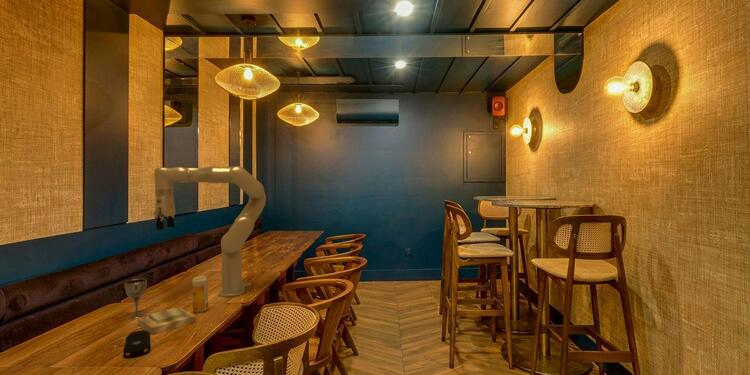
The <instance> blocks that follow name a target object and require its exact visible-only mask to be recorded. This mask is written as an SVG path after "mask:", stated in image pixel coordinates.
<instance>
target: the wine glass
mask: <svg viewBox="0 0 750 375" xmlns="http://www.w3.org/2000/svg"><path fill="white" fill-rule="evenodd" d="M147 284H148V282H147V278H133V279H129V280H127V281H125V282H124V289H125V293H126V295H127V297H128V298H130V299H131V300H132V301H133V303H134V306H135V307H134V308H135V312H133V313H131V314H129V315H127V316H126V318H127V319H137V318H142V317H145V316H146V315H147V313H146V312H145V311H144V312H143V311H142V312H139V311H138V310H139V309H138V307H139V302H140V300H141V299H142V298H143V296H144V295H145V293H146V291H147Z"/></svg>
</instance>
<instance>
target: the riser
mask: <svg viewBox="0 0 750 375" xmlns="http://www.w3.org/2000/svg"><path fill="white" fill-rule="evenodd" d="M196 317H197V316H196V315H194V314H193V313H191V312H189V311H187V310H185V309H183V308H182V307H179V308H177V307H173V308H169V309H166V310H161V311H157V312H154V313H149V314H148V315H147V316H146V315H145V316H142V317H138V320H137V321H138V326H139V327H141V329H143V330H147V331H148V332H149V333H150V336H154V335H156V334H160V333H163V332H168V331H171V330H174V329H177V328H181V327H185V326H187V325H188V326H189V325H191V324H195V323H196V322H197V319H196Z"/></svg>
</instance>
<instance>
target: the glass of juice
mask: <svg viewBox="0 0 750 375" xmlns="http://www.w3.org/2000/svg"><path fill="white" fill-rule="evenodd" d="M191 284H192V287H191V288H192V311H193V312H194V313H195V314H202V313H205V312H207V311H208V310H209V291H208V290H209V288H208V285H209V284H208V278H207V276H206V275H199V276H195V277H193V278H192V280H191Z"/></svg>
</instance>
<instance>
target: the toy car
mask: <svg viewBox="0 0 750 375" xmlns="http://www.w3.org/2000/svg"><path fill="white" fill-rule="evenodd" d="M149 351H150V352H151V334H150V333H149V332H148V331H147V330H145V329H143V328H141V329H139V328H136V329H134V330H133V331H132V332H130V333H128V335H127V336H126V337H125V344H124V347H123V358H133V357H137V356H141V355H145V354H148V353H149Z"/></svg>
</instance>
